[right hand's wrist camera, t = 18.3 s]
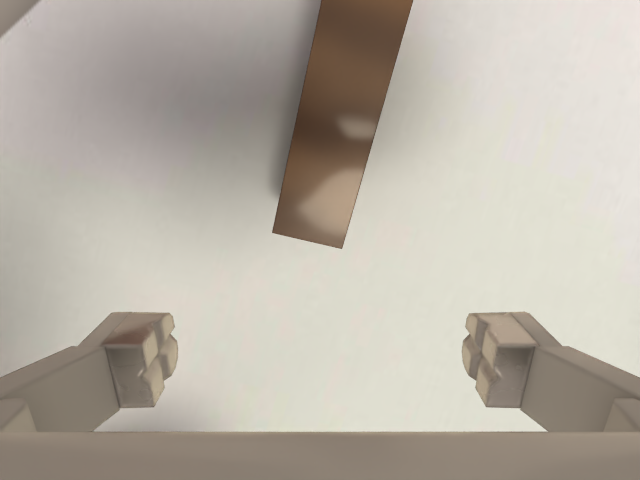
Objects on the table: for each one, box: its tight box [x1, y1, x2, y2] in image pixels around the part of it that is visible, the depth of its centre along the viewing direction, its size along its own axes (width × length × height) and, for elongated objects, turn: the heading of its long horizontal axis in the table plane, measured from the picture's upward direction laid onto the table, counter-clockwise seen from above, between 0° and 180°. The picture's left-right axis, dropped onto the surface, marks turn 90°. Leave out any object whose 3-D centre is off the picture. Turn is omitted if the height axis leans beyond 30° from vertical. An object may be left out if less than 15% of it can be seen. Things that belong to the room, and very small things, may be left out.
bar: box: [272, 0, 413, 249], centre depth 27 cm, size 26×5×8 cm, turn 166°
